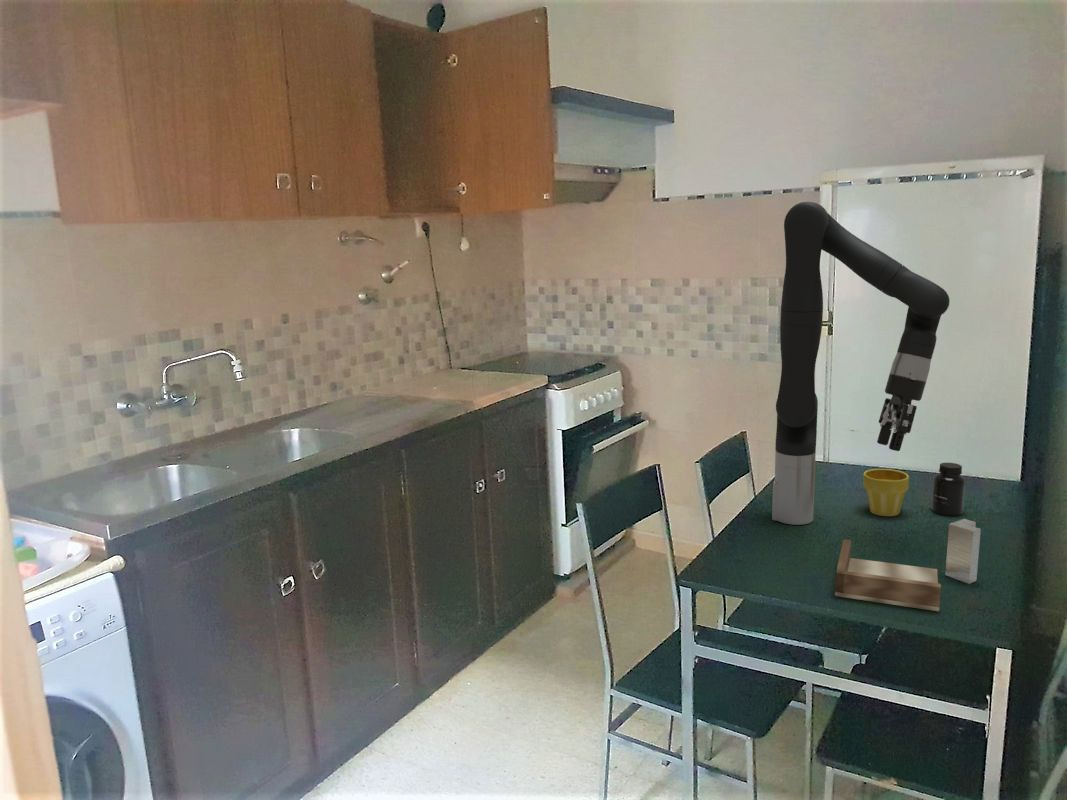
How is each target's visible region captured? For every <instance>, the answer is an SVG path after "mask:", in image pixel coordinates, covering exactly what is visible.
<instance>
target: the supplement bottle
mask: <svg viewBox="0 0 1067 800" xmlns="http://www.w3.org/2000/svg"><path fill="white" fill-rule="evenodd" d="M962 469H963V466H962V464H960V463H959V464H958V463H954V462H941V463H940V464H939V469H938V472H939V473H937V474H936V475H935V476H934V478H933V485H932V486H933V487H932V496H931V510H932V512H934V513H935V514H938V515H940V516H945V517H946V516H947V517H958V516H960V515H962V513H963V510H964V509H963V508H964V501H965V500H964V499H965V490H966V479H965V477H963V476H962V473H963V471H962Z"/></svg>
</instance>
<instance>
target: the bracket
mask: <svg viewBox="0 0 1067 800" xmlns="http://www.w3.org/2000/svg"><path fill="white" fill-rule="evenodd" d="M976 523H977V522H976V521H973V520H969V519H967V518H963V519H960V520H956V521H954V522H951V523H949V524H948V535H947V548H946V549H947V550H946V561H945V563H946V564H945V576H947V577H949V578H951V579H952V578H953V579H954V580H957V581H960V582H963V583H966V584H967V585H971V584H972V583H975V582H977V578H978V566H979V555H980V554H979V553H980V543H981V533H982V532H981V530H982V529H981V528H979V527H976Z"/></svg>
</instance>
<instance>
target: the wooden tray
mask: <svg viewBox="0 0 1067 800" xmlns="http://www.w3.org/2000/svg"><path fill="white" fill-rule="evenodd" d="M851 548H852V540H851V539H845V538H844V539H843V541H842V544H841V549H840V554H839V557H838V562H837V567H836V570H835V586H834V587H835V588H834V596H835V597H840V598H846V599H853V600H858V601H861V600H862V601H866V602H872V603H880V604H886V605H894V606H900V607H906V608H911V609H912V608H915V609H919V610H920V609H921V610H925V611H926V610H927V611H933V612H940V605H941V603H940V602H941V591H942V589H941V588H942V585H941V583H939V578H938V568H931V567H923V566H917V565H916V566H914V565H909V564H908V565H907V564H902V563H901V564H900V563H891V562H885V561H878V560H869V559H861V558H853V557H851V551H852V549H851Z"/></svg>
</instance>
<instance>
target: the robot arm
mask: <svg viewBox="0 0 1067 800" xmlns="http://www.w3.org/2000/svg"><path fill="white" fill-rule="evenodd" d="M783 230H784V242H785V243H784V244H785V245H784V246H785V270H784V279H783V285H782V292H781V293H782V294H781V302H780V303H781V304H780V318H779V319H780V322H779V328H780V329H779V332H780V333H779V340H780V342H779V343H780V355H781V356H780V358H781V359H780V360H781V373H780V380H779V387H778V394H777V399H776V403H775V411H776V432H775V451H774V456H775V457H774V481H773V482H772V504H771V505H772V506H771V509H772V510H771V511H772V512H771V520H772V521H777V522H780V523H782V524H787V525H792V526H793V525H794V526H795V525H796V526H799V525H800V526H801V525H807V524H811V523H812V522H813V521H814V515H815V514H814V513H815V510H814V509H815V484H816V483H815V480H816V458H817V457H816V456H817V455H816V452H817V435H818V433H817V432H818V431H817V430H818V412H819V411H818V410H819V408H818V407H819V401H818V397H817V394H816V385H815V381H816V379H815V373H816V372H815V369H816V363H817V357H818V354H819V353H818V352H819V349H820V344H821V337H822V328H823V318H824V317H823V315H824V295H823V294H824V293H823V284H822V277H821V256H822V251H823V252H826V253H827V254H829V255H830V256H832V257H834V258H835V259H837V260H838V261H839V262H841V263H842V264H843V265H845V266H846V267H847V268H848V269H849V270H850V271H852V272H853V273H854V274H856V275H857V276H858V277H859V278H861V279H862V280H864V281H865V282H867V284H869V285H871V286H872V287H874V288H876V290H878V291H880V292H881V293H883V295H884V294H885V295H886V296H888V297H890V298H895V299H896V300H898V301H899V302H902V303H903V304H904V305H905V306H907V307H908V308H907V311H906V312H907V313H906V317H905V323H904V329H903V332H902V334H901V338H900V341H899V344H898V347H897V351H896V354H895V357H894V358H893V362H892V363H891V366H890V367H891V368H890V371H889V375H888V377H887V383H886V385H885V388H884V392H885V394H888V395H891V398H887V397H886V398H885V399H884V402H883V406H882V409H881V413H880V416H879V419H878V423H879V425H880V430H879V434H878V437H877V440H876V443H877V444H879V445H883V446H887V445H888V444H889V445H888V449H889V450H891V451H895V452H899V451H901V449H902V444H903V441H904V438H905V435H907V434H910V433H911V431H912V426H913V423H914V419H915V415H916V411H917V405H914V404H912V402H913V401H918V402H920V401H921V400H922V397H923V394H924V391H925V388H926V384H927V380H928V377H929V373H930V369H931V362H932V358H933V356H934V355H933V354H934V352H935V348H936V344H937V343H936V342H937V331H938V327H939V324H940V321H941V317H942V315H944V314H945V312H947V310H948V309H949V307H950V297H949V294H948V293H947V291H946V290H945V289H944V288H943V287H941V286H940V285H938V284H937V283H935V282H934V281H932V280H929V279H928V278H925V277H924V276H921V275H920V274H918V273H915V272H913V271H912V270H910V269H908V268H907V267H906V266H905V265H903V264H902V263H901V262H899V261H898V260H896V259H894V258H893V257H891V256H889V255H888V254H886V253H885V252H883V251H882V250H880V249H878V248H877V247H874V246H872V245H871V244H869V243H867V242H866V241H865V240H862V239H861V238H859V237H857V236H856V235H855V234H853V233H851V232H850V231H849V230H848V229H846V228H845V227H844V226H843V225H841V224H840V223H839V222H838V221H837V220H836V219H835V218H833V216H832V215H830V213H829V212H828V211H827V209H826V208H825V207H824V206H822V205H821V204H819V203H816V202H812V201H801V202H798V203H797V204H795V205H793V206H792V207H791V208H790V209H789V210H788V212H787V213H786V215H785V218H784V223H783ZM892 430H893V432H892ZM891 434H892V435H891ZM889 440H890V441H889ZM889 442H890V443H889Z"/></svg>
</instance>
